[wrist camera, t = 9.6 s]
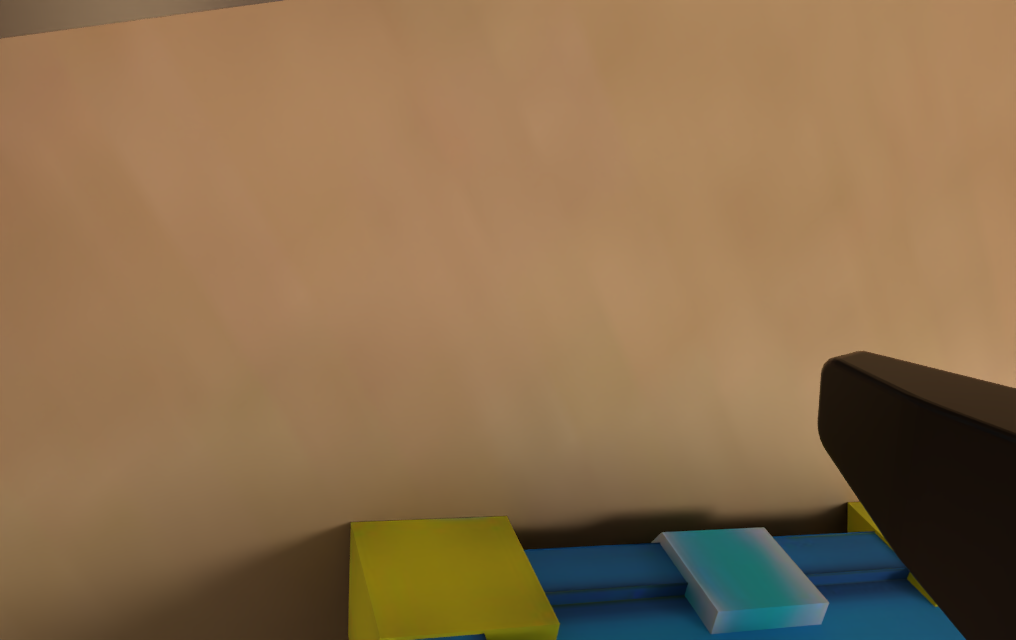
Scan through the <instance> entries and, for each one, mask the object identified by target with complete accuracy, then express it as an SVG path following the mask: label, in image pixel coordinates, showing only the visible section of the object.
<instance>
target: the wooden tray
mask: <svg viewBox="0 0 1016 640" xmlns="http://www.w3.org/2000/svg"><path fill="white" fill-rule="evenodd" d="M275 1H282V0H0V39H1V38H8V37H15V36H23V35H30V34H38V33H45V32H52V31H60V30H67V29H75V28H82V27H90V26H97V25H104V24H112V23H119V22H127V21H134V20H141V19H149V18H156V17H164V16H171V15H179V14H186V13H193V12H201V11H208V10H216V9H223V8H230V7H238V6H245V5H253V4H260V3H268V2H275Z"/></svg>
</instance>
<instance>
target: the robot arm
mask: <svg viewBox="0 0 1016 640" xmlns="http://www.w3.org/2000/svg"><path fill="white" fill-rule="evenodd" d="M818 432H819V436H820V440H821V442H822V444H823V446H824V448H825V450H826V451H827V453H828V454H829V456H830V457H831V459H832V460H833V462H834V463H835V465H836V466H837V468H838V469H839V471H840V472H841V474H842V475H843V477H844V478H845V480H846V481H847V483H848V484H849V486H850V487H851V489H852V490H853V492H854V493H855V495H856V496H857V498H858V499H859V501H860V502H861V504H862V505H863V507H864V508H865V510H866V511H867V513H868V514H869V516H870V517H871V519H872V520H873V522H874V523H875V525H876V526H877V528H878V529H879V531H880V532H881V534H882V535H883V536H884V538H885V539H886V541H887V542H888V544H889V545H890V546H891V548H892V549H893V551H894V552H895V553H896V555H897V556H898V558H899V559H900V560H901V561H902V563H903V564H904V565H905V566H906V568H907V569H908V570H909V572H910V573H911V574H912V575H913V577H914V578H915V579H916V580H917V581H918V583H919V584H920V585H921V586H922V587H923V589H924V590H925V591H926V592H927V593H928V595H929V596H930V597H931V598H932V599H933V601H934V602H935V603H936V604H937V605H938V607H939V608H940V609H941V610H942V612H943V613H944V614H945V615H946V616H947V618H948V619H949V620H950V621H951V622H952V624H953V625H954V626H955V627H956V628H957V630H958V631H959V632H960V633H961V634H962V636H963V637H964V638H965V639H966V640H1016V388H1012V387H1008V386H1004V385H1000V384H996V383H992V382H988V381H983V380H979V379H975V378H971V377H967V376H963V375H959V374H955V373H951V372H947V371H943V370H939V369H935V368H931V367H927V366H923V365H919V364H915V363H911V362H907V361H903V360H899V359H895V358H890V357H886V356H882V355H878V354H874V353H870V352H866V351H857V352H853V353H849V354H845V355H841V356H838V357H834V358H830V359H829V360H828V361H827V362H826V363H825V364H824V366H823V368H822V372H821V382H820V396H819V410H818Z"/></svg>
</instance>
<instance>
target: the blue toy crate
mask: <svg viewBox="0 0 1016 640" xmlns="http://www.w3.org/2000/svg"><path fill="white" fill-rule="evenodd" d="M348 637H349V640H966V639H965V638H964V637H963V636H962V634H961V633H960V632H959V631H958V630H957V628H956V627H955V626H954V625H953V624H952V622H951V621H950V620H949V619H948V618H947V616H946V615H945V614H944V613H943V612H942V610H941V609H940V608H939V607H938V605H937V604H936V603H935V602H934V601H933V599H932V598H931V597H930V596H929V595H928V593H927V592H926V591H925V590H924V589H923V587H922V586H921V585H920V584H919V583H918V581H917V580H916V579H915V578H914V577H913V575H912V574H911V573H910V572H909V570H908V569H907V568H906V566H905V565H904V564H903V563H902V561H901V560H900V559H899V558H898V556H897V555H896V553H895V552H894V551H893V549H892V548H891V546H890V545H889V544H888V542H887V541H886V539H885V538H884V536H883V535H882V534H881V532H880V531H879V529H878V528H877V526H876V525H875V523H874V522H873V520H872V519H871V517H870V516H869V514H868V513H867V511H866V510H865V508H864V507H863V505H862V504H861V502H848V533H831V534H812V535H793V536H774V537H772V536H771V535H770V534H769V532H768V531H767V530H766V529H765V528H764V527H759V528H739V529H718V530H697V531H676V532H662V533H660V534H659V535H658V536H657V537H656V538H655V539H654V540H653V541H652V542H651V543H641V544H622V545H603V546H584V547H565V548H546V549H527V550H523V548H522V546H521V544H520V542H519V540H518V538H517V536H516V534H515V532H514V530H513V528H512V526H511V524H510V521H509V519H508V517H507V516H495V517H470V518H445V519H419V520H394V521H369V522H351V532H350V574H349V616H348Z"/></svg>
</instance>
